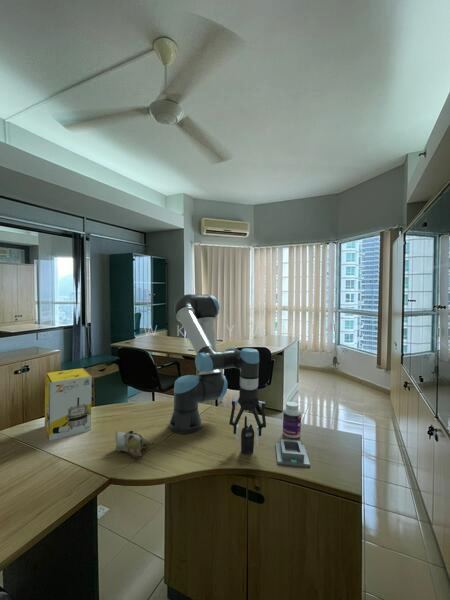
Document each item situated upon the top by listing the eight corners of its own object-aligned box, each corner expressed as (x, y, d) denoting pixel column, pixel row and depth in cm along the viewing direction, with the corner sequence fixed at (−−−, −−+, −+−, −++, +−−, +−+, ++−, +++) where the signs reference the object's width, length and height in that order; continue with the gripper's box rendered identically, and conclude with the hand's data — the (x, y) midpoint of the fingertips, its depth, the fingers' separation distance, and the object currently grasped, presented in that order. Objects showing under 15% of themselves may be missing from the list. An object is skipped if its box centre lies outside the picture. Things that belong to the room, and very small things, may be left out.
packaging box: (49, 440, 120) (50, 382, 120) (44, 426, 133) (45, 373, 132) (90, 430, 131) (91, 376, 130) (82, 417, 143) (83, 368, 143)
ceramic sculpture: (124, 421, 121) (156, 429, 117) (122, 441, 121) (154, 449, 118) (108, 434, 110) (142, 442, 107) (106, 455, 111) (141, 464, 107)
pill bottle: (300, 440, 127) (302, 408, 126) (282, 438, 128) (283, 406, 128) (299, 431, 135) (300, 401, 134) (282, 429, 136) (283, 399, 136)
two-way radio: (241, 454, 114) (242, 417, 114) (238, 448, 118) (240, 413, 118) (254, 453, 115) (256, 417, 115) (251, 447, 120) (252, 412, 119)
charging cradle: (277, 464, 109) (278, 455, 108) (275, 444, 122) (275, 436, 122) (310, 467, 107) (310, 457, 107) (303, 447, 121) (304, 439, 121)
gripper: (222, 388, 113) (221, 445, 114) (274, 392, 111) (272, 449, 112) (224, 382, 121) (223, 435, 122) (273, 385, 119) (271, 439, 119)
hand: (247, 442), depth 117 cm, fingers open, 8 cm apart
